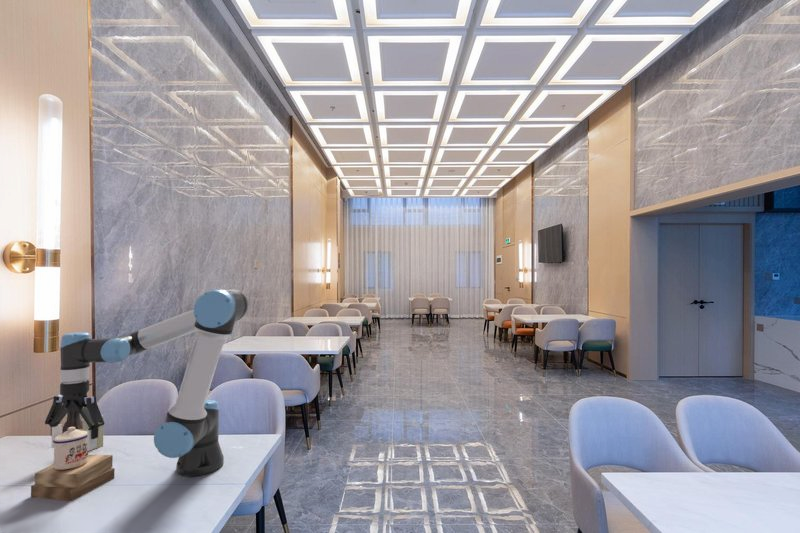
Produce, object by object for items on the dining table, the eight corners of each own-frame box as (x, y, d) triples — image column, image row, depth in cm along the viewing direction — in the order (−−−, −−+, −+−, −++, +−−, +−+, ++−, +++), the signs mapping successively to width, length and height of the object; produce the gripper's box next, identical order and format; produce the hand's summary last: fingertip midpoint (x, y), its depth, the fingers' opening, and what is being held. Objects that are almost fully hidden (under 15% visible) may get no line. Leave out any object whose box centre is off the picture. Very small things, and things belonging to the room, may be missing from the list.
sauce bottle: (64, 467, 150) (65, 410, 150) (57, 463, 153) (58, 408, 154) (85, 460, 155) (86, 405, 156) (78, 456, 159) (79, 403, 159)
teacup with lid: (66, 471, 129) (66, 432, 129) (45, 469, 131) (45, 431, 132) (104, 456, 140) (104, 421, 141) (84, 454, 143) (84, 419, 144)
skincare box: (87, 451, 163) (88, 420, 163) (79, 450, 165) (80, 419, 165) (103, 445, 169) (104, 415, 169) (96, 444, 170) (96, 414, 171)
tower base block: (114, 480, 141) (114, 468, 141) (71, 503, 126) (71, 490, 126) (77, 476, 144) (77, 464, 144) (30, 499, 129) (31, 485, 129)
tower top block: (112, 467, 142) (112, 455, 142) (78, 487, 128) (78, 474, 128) (73, 466, 143) (73, 454, 143) (34, 486, 129) (34, 473, 129)
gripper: (117, 379, 137) (117, 445, 137) (54, 377, 142) (53, 440, 141) (97, 385, 130) (96, 454, 129) (31, 382, 135) (30, 449, 134)
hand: (74, 447), depth 135 cm, fingers open, 13 cm apart
